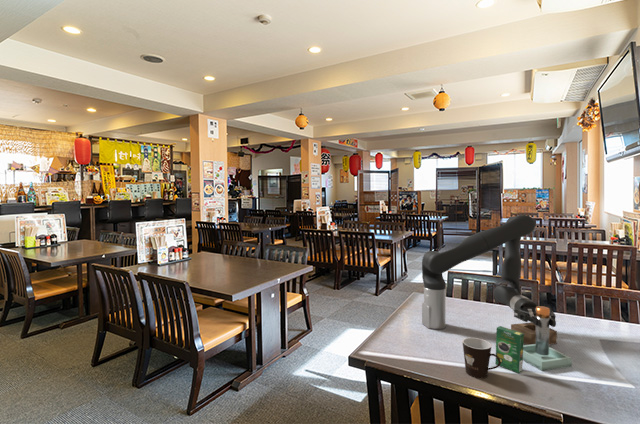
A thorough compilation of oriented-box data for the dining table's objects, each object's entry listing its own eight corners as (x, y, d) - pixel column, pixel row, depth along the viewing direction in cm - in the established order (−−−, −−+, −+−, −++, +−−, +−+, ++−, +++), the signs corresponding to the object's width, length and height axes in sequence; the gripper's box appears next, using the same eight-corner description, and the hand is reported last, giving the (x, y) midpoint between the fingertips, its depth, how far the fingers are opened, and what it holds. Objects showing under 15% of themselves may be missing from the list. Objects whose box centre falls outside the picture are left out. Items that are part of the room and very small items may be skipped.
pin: (542, 356, 117) (542, 310, 116) (532, 350, 121) (533, 306, 120) (551, 354, 118) (552, 309, 117) (542, 349, 121) (542, 305, 121)
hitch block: (530, 346, 130) (530, 334, 130) (510, 336, 140) (511, 324, 139) (556, 343, 132) (556, 331, 132) (535, 333, 142) (535, 321, 142)
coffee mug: (457, 367, 115) (457, 338, 114) (481, 366, 116) (481, 337, 115) (475, 386, 103) (476, 354, 103) (502, 384, 104) (503, 352, 104)
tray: (541, 370, 112) (541, 362, 112) (513, 354, 124) (514, 346, 124) (571, 366, 114) (571, 358, 114) (541, 351, 126) (541, 343, 126)
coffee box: (524, 371, 112) (524, 332, 111) (519, 374, 110) (520, 334, 109) (499, 362, 118) (499, 325, 118) (495, 364, 117) (495, 327, 116)
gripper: (504, 297, 133) (524, 312, 117) (543, 298, 131) (570, 313, 115) (504, 316, 134) (524, 333, 117) (543, 317, 132) (569, 335, 115)
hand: (546, 323), depth 116 cm, fingers closed on pin, 4 cm apart
